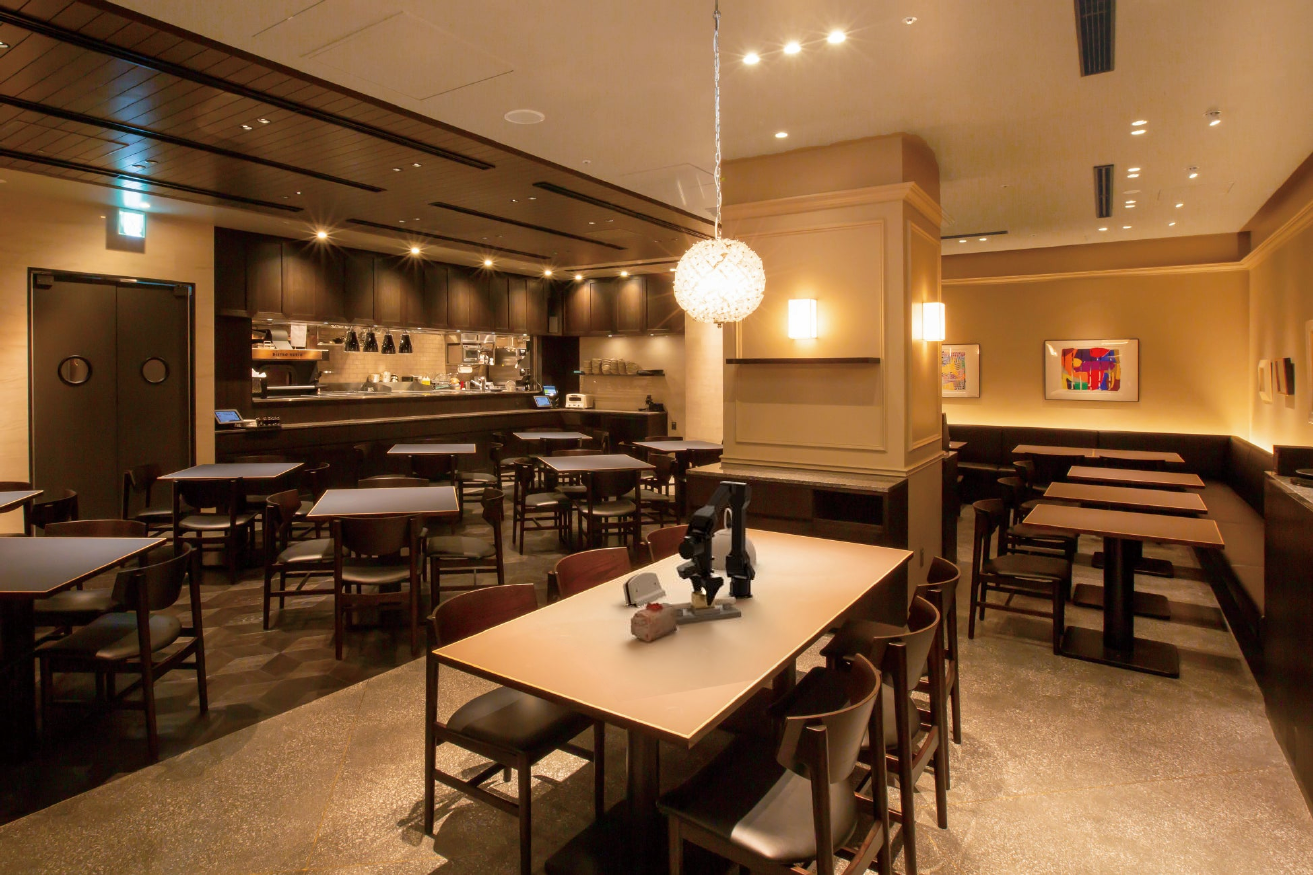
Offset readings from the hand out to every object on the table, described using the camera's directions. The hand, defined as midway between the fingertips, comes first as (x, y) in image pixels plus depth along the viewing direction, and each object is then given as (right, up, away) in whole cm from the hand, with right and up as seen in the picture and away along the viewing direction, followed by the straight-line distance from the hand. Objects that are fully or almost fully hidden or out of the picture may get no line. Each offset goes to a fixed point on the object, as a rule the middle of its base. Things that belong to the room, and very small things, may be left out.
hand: (703, 601), depth 224 cm
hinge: (-19, -4, +18) cm, 26 cm away
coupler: (0, -3, 0) cm, 3 cm away
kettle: (+15, 0, +68) cm, 70 cm away
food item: (-16, -6, -17) cm, 24 cm away
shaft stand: (0, -5, 0) cm, 5 cm away
